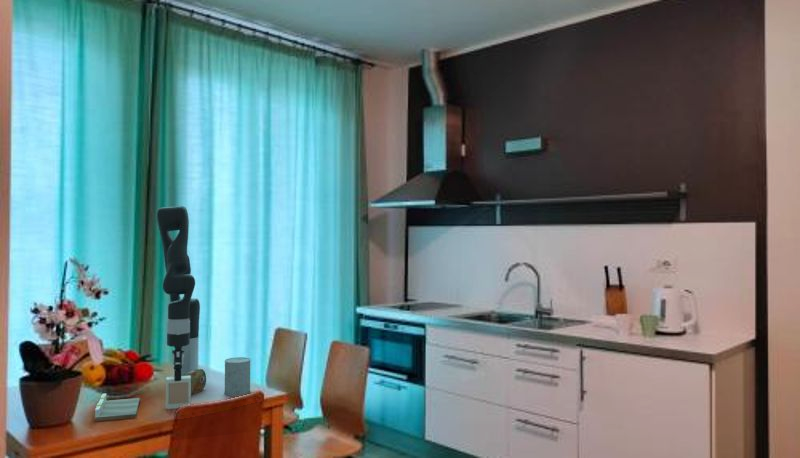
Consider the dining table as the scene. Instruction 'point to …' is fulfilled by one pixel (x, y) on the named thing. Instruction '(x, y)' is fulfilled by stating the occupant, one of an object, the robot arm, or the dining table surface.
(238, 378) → the grey stone cylinder
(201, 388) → the tin
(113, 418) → the shelf board
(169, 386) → the carton
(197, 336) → the robot arm
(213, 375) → the dining table surface
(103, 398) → the rail
